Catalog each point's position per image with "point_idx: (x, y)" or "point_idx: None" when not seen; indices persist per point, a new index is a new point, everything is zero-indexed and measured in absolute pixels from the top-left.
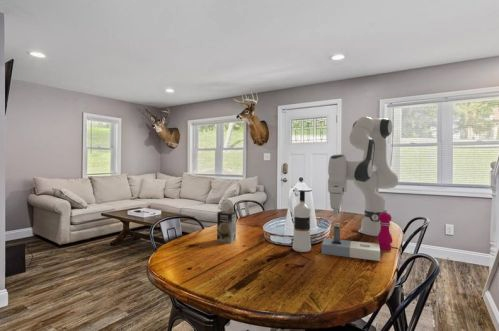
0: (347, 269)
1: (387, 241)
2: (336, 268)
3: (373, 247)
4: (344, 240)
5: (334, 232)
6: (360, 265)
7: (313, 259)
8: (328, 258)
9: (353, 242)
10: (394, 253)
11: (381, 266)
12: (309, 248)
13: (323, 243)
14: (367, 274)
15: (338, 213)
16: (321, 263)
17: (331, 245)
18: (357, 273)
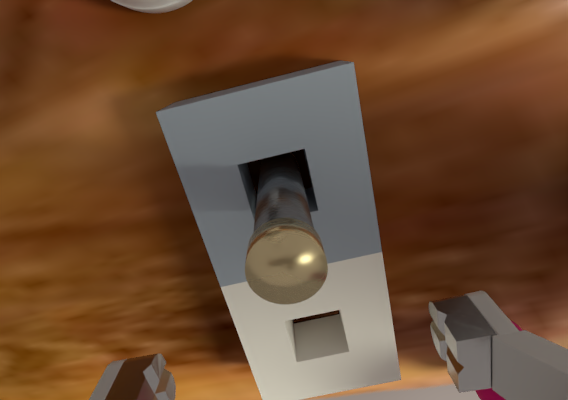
0: (49, 293)
1: (479, 397)
2: (16, 254)
3: (311, 373)
4: (369, 214)
5: (257, 211)
6: (146, 320)
7: (32, 105)
8: (122, 172)
9: (352, 273)
10: (417, 385)
11: (199, 379)
12: (136, 9)
13: (189, 116)
14: (64, 362)
15: (432, 333)
16: (13, 171)
17: (182, 183)
18: (41, 334)
